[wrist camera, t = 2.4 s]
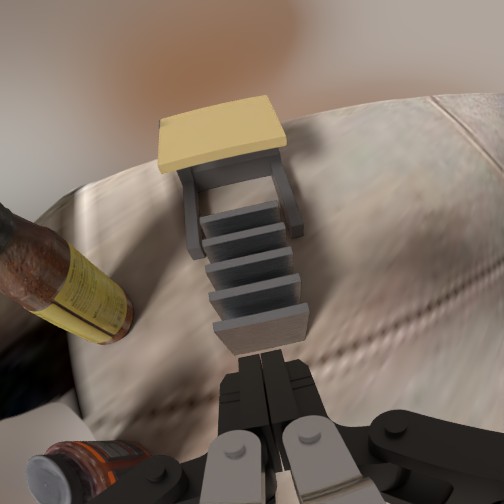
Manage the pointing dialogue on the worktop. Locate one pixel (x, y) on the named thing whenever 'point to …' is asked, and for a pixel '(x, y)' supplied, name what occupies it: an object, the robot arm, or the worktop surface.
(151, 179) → the worktop surface
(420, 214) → the worktop surface
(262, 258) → the heatsink block
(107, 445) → the supplement bottle
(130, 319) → the sauce bottle
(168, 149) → the grey and yellow stand
